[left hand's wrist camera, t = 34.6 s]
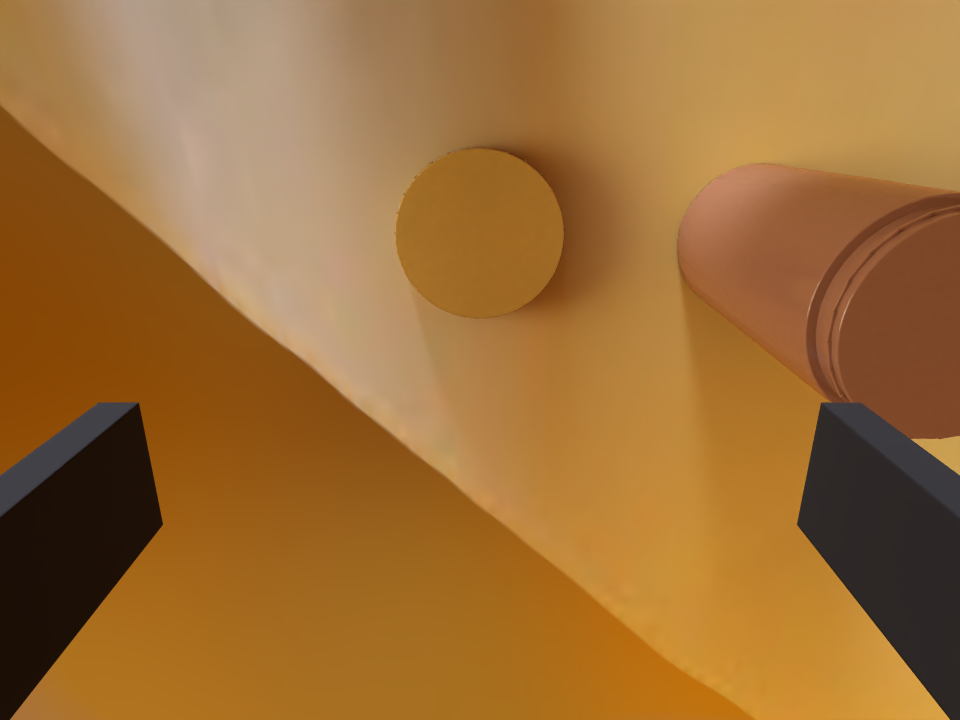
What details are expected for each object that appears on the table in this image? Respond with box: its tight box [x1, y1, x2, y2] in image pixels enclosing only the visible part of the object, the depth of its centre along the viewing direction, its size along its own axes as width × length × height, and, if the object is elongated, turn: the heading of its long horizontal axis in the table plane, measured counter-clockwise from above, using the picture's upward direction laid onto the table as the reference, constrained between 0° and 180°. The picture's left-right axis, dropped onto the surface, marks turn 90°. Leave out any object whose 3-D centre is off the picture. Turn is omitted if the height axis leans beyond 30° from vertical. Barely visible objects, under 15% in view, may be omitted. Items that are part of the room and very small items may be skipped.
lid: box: [395, 147, 564, 318], centre depth 40 cm, size 10×10×2 cm
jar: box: [677, 163, 960, 439], centre depth 32 cm, size 9×9×19 cm
